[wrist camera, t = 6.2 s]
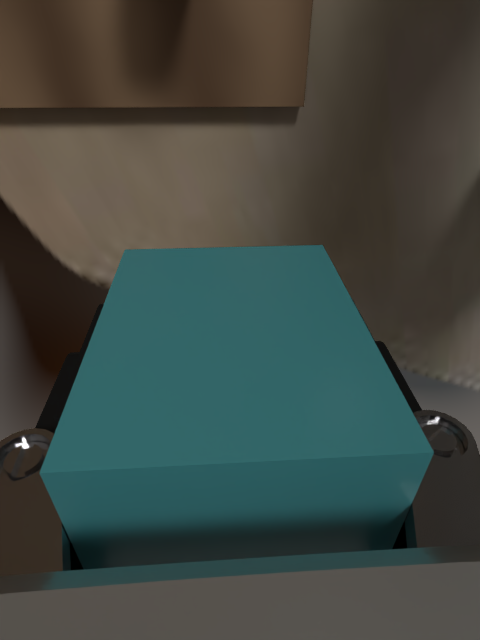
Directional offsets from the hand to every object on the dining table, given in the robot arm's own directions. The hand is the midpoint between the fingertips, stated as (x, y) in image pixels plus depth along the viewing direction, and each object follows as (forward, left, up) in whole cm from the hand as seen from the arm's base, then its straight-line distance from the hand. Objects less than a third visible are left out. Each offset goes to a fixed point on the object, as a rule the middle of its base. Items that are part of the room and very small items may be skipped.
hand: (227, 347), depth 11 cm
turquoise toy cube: (0, 0, -1) cm, 1 cm away
